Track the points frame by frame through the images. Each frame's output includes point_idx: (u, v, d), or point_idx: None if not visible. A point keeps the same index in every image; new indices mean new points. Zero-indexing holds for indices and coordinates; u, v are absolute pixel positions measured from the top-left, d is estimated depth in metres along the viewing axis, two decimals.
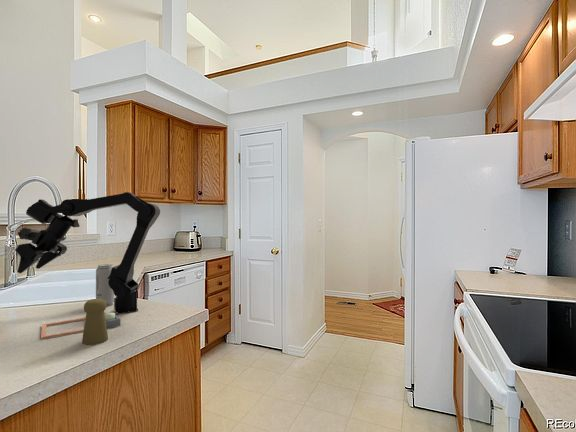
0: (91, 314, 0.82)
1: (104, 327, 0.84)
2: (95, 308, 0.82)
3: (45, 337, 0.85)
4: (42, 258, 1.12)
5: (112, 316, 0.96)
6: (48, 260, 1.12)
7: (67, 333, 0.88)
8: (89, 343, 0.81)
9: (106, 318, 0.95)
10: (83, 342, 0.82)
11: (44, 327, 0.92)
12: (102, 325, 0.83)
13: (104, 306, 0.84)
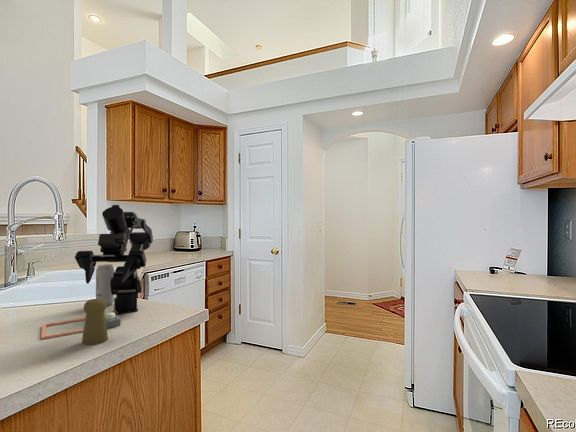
0: (91, 314, 0.82)
1: (104, 327, 0.84)
2: (95, 308, 0.82)
3: (45, 337, 0.85)
4: (90, 271, 0.92)
5: (112, 316, 0.96)
6: (92, 274, 0.94)
7: (67, 333, 0.88)
8: (89, 343, 0.81)
9: (106, 318, 0.95)
10: (83, 342, 0.82)
11: (44, 327, 0.92)
12: (102, 325, 0.83)
13: (104, 306, 0.84)
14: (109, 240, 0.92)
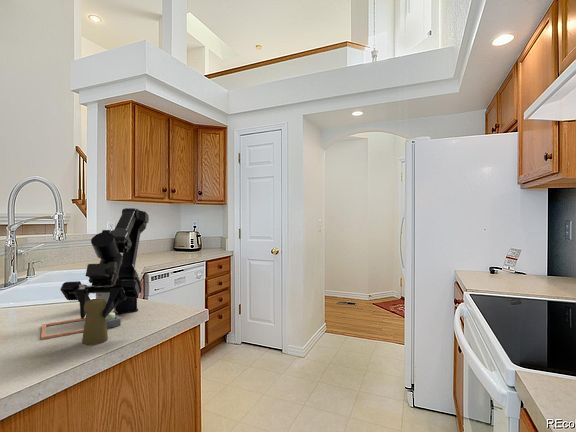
0: (91, 314, 0.82)
1: (104, 327, 0.84)
2: (95, 308, 0.82)
3: (45, 337, 0.85)
4: None
5: (112, 316, 0.96)
6: None
7: (67, 333, 0.88)
8: (89, 343, 0.81)
9: (106, 318, 0.95)
10: (83, 342, 0.82)
11: (44, 327, 0.92)
12: (102, 324, 0.83)
13: (104, 306, 0.84)
14: (98, 271, 0.84)
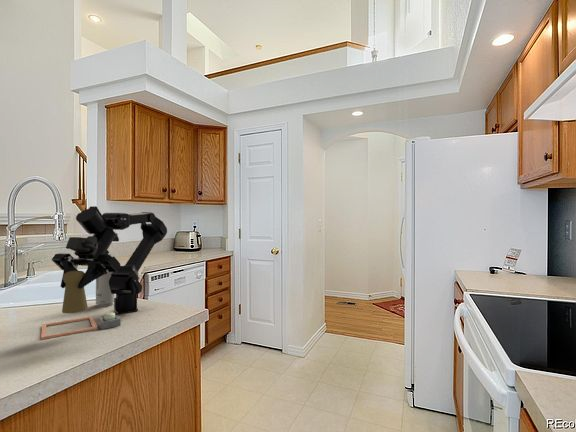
0: (67, 284, 0.87)
1: (81, 298, 0.88)
2: (69, 279, 0.86)
3: (45, 337, 0.85)
4: None
5: (112, 316, 0.96)
6: None
7: (67, 333, 0.88)
8: (65, 311, 0.86)
9: (106, 318, 0.95)
10: (62, 310, 0.87)
11: (44, 327, 0.92)
12: (78, 295, 0.87)
13: (80, 278, 0.88)
14: (75, 244, 0.88)
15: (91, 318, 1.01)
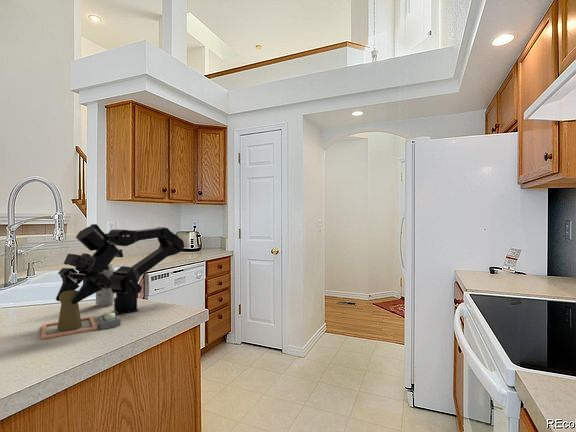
0: (62, 303, 0.92)
1: (72, 317, 0.92)
2: (62, 299, 0.91)
3: (45, 337, 0.85)
4: (65, 288, 0.96)
5: (112, 316, 0.96)
6: None
7: (67, 333, 0.88)
8: (58, 329, 0.91)
9: (106, 318, 0.95)
10: None
11: (44, 327, 0.92)
12: (69, 314, 0.92)
13: (72, 298, 0.92)
14: (69, 261, 0.93)
15: (91, 318, 1.01)
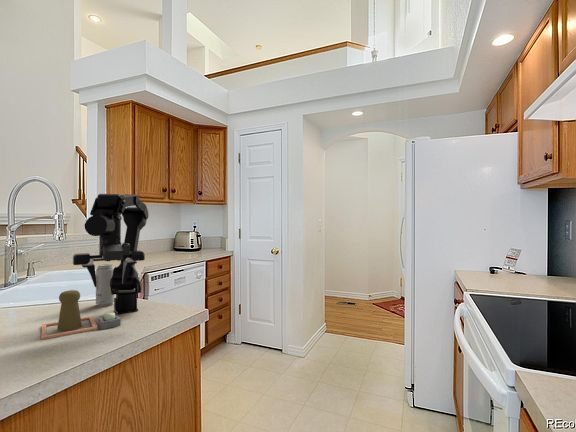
0: (62, 303, 0.92)
1: (72, 317, 0.92)
2: (62, 299, 0.91)
3: (45, 337, 0.85)
4: None
5: (112, 316, 0.96)
6: None
7: (67, 333, 0.88)
8: (58, 329, 0.91)
9: (106, 318, 0.95)
10: None
11: (44, 327, 0.92)
12: (69, 314, 0.92)
13: (72, 298, 0.92)
14: (117, 258, 0.91)
15: (91, 318, 1.01)
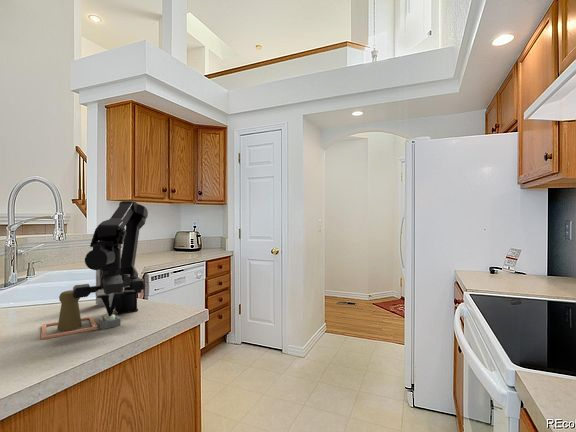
0: (62, 303, 0.92)
1: (72, 317, 0.92)
2: (62, 299, 0.91)
3: (45, 337, 0.85)
4: None
5: (112, 318, 0.96)
6: None
7: (67, 333, 0.88)
8: (58, 329, 0.91)
9: (106, 320, 0.95)
10: None
11: (44, 327, 0.92)
12: (69, 314, 0.92)
13: (72, 298, 0.92)
14: (117, 290, 0.91)
15: (91, 318, 1.01)
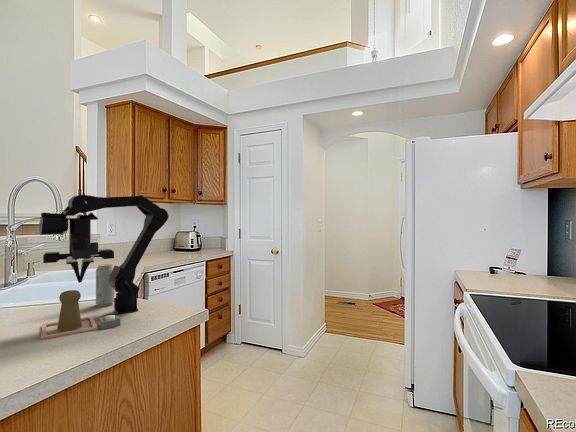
0: (62, 303, 0.92)
1: (73, 317, 0.92)
2: (63, 299, 0.91)
3: (45, 337, 0.85)
4: (78, 271, 1.01)
5: (112, 319, 0.96)
6: None
7: (67, 333, 0.88)
8: (58, 329, 0.91)
9: None
10: None
11: (44, 327, 0.92)
12: (70, 314, 0.92)
13: (72, 298, 0.92)
14: (85, 256, 0.96)
15: (91, 318, 1.01)
